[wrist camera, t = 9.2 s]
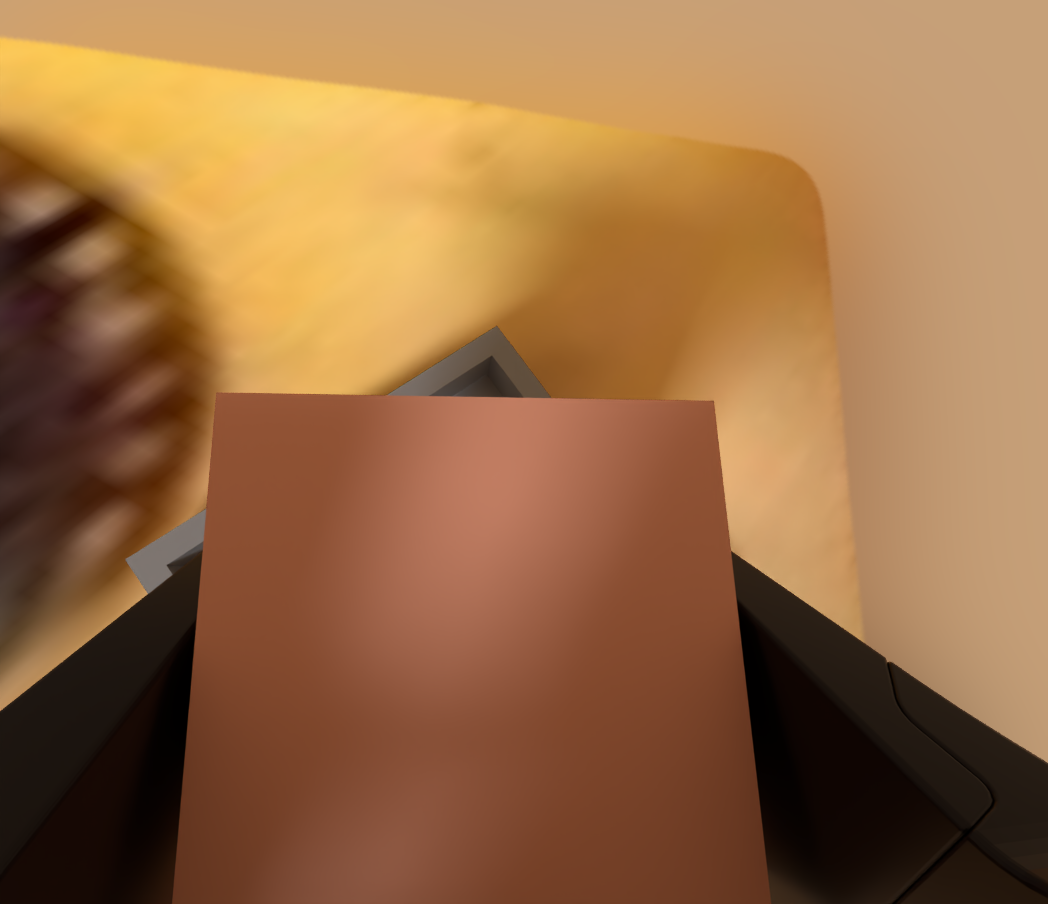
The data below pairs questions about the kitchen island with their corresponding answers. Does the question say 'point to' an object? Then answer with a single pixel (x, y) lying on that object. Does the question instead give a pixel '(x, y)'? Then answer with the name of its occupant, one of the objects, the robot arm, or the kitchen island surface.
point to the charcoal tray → (462, 374)
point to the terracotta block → (467, 658)
